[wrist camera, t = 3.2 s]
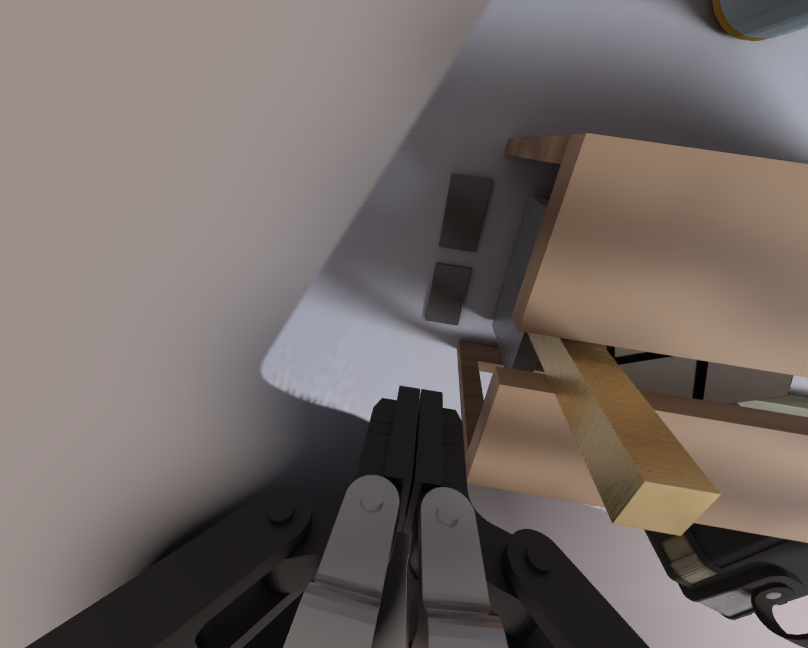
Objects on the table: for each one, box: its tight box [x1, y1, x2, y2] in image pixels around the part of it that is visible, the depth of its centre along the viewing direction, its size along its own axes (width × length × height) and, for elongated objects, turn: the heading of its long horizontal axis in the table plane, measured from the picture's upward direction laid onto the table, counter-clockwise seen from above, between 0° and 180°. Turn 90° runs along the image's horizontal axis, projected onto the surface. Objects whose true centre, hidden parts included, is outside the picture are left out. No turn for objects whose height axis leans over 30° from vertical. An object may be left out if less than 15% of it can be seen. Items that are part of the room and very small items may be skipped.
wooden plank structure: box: [426, 133, 808, 543], centre depth 21 cm, size 18×42×14 cm, turn 83°
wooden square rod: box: [492, 197, 721, 536], centre depth 18 cm, size 11×2×20 cm, turn 173°
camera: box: [644, 523, 808, 648], centre depth 29 cm, size 11×14×15 cm
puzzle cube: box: [603, 345, 793, 404], centre depth 23 cm, size 10×10×10 cm
